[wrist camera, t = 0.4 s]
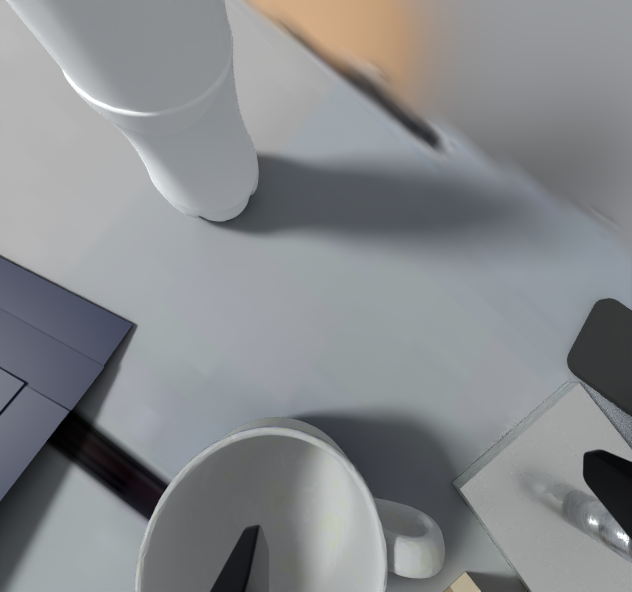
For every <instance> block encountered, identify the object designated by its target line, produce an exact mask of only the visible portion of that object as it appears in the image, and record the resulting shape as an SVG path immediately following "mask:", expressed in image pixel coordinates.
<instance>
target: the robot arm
mask: <svg viewBox="0 0 632 592" xmlns="http://www.w3.org/2000/svg"><path fill="white" fill-rule="evenodd" d="M583 478H584V480H585V482H586V484H587V485H588V487H589V488H590V489H591V491H592V492H593V493H594V494H595V495H596V497H597V498H598V499H599V500H600V502H601V503H602V504H603V505H604V507H605V508H606V509H607V510H608V512H609V513H610V514H611V515H612V517H613V518H614V519H615V520H616V522H617V523H618V524H619V525H620V526H621V528H622V529H623V530H624V531H625V533H626V534H627V535H628V536H629V538H630V539H631V540H632V462H631V461H629V460H626V459H624V458H622V457H619V456H617V455H615V454H612V453H610V452H607V451H605V450H601V449H596V450H592V451H587V452H585V453H584V455H583ZM210 592H269V548H268V544H267V541H266V538H265V535H264V532H263V529H262V527H261V526H260V525H258V524H257V525H253V526H248V527H246V528H245V529H244V530H243V532H242V534H241V536H240V538H239V539H238V541H237V543H236V545H235V547H234V549H233V550H232V552H231V554H230V556H229V558H228V559H227V561H226V563H225V565H224V567H223V569H222V570H221V572H220V574H219V576H218V578H217V579H216V581H215V583H214V585H213V587H212V589H211V590H210Z"/></svg>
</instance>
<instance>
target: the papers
mask: <svg viewBox="0 0 632 592" xmlns="http://www.w3.org/2000/svg"><path fill="white" fill-rule="evenodd" d="M132 325H133V324H131V323H129V322H127V321H125V320H123V319H121V318H119V317H117V316H115V315H113V314H111V313H109V312H107V311H105V310H103V309H101V308H99V307H97V306H95V305H93V304H91V303H89V302H87V301H85V300H84V299H82V298H80V297H78V296H76V295H74V294H72V293H70V292H68V291H66V290H64V289H62V288H60V287H58V286H56V285H54V284H52V283H50V282H48V281H46V280H44V279H42V278H40V277H38V276H36V275H34V274H32V273H30V272H28V271H26V270H24V269H22V268H20V267H18V266H16V265H14V264H12V263H10V262H8V261H6V260H4V259H2V258H0V501H1V499H2V498H3V497H4V496H5V494H6V493H7V492H8V490H9V489H10V488H11V486H12V485H13V484H14V483H15V481H16V480H17V479H18V477H19V476H20V475H21V473H22V472H23V471H24V470H25V468H26V467H27V466H28V464H29V463H30V462H31V460H32V459H33V458H34V457H35V455H36V454H37V453H38V451H39V450H40V449H41V447H42V446H43V445H44V444H45V442H46V441H47V440H48V438H49V437H50V436H51V434H52V433H53V432H54V431H55V429H56V428H57V427H58V425H59V424H60V423H61V421H62V420H64V419H65V418H66V416H67V415H68V414H69V413H70V411H71V410H72V409H73V407H74V406H75V405H76V403H77V402H78V401H79V399H80V398H81V397H82V396H83V394H84V393H85V392H86V390H87V389H88V388H89V386H90V385H91V384H92V383H93V381H94V380H95V379H96V377H97V376H98V375H99V373H100V372H101V371H102V370H103V368H104V366H103V365H104V364H105V363H106V361H107V360H108V358H109V357H110V356H111V354H112V353H113V351H114V350H115V349H116V347H117V346H118V344H119V343H120V342H121V340H122V339H123V337H124V336H125V335H126V333H127V332H128V330H129V329H130V328H131V326H132Z"/></svg>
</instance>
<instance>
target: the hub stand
mask: <svg viewBox="0 0 632 592" xmlns="http://www.w3.org/2000/svg"><path fill="white" fill-rule="evenodd" d="M596 449H601V450H605V451H607V452H610V453H612V454H615V455H617V456H619V457H622V458H624V459H626V460H629V461H631V462H632V449H631V448H630V447H629V445H628V444H627V443H626V441H625V440H624V439H623V438H622V436H621V435H620V434H619V433H618V431H617V430H616V429H615V427H614V426H613V425H612V424H611V422H610V421H609V420H608V419H607V417H606V416H605V415H604V414H603V412H602V411H601V410H600V408H599V407H598V406H597V405H596V403H595V402H594V401H593V400H592V398H591V397H590V396H589V394H588V393H587V392H586V391H585V389H584V388H583V387H582V386H581V384H580V383H576V382H566V383H565V384H564V385H563V386H562V387H560V388H559V389H558V390H557V391H556V392H555V393H554V394H552V395H551V396H550V397H549V398H548V399H547V400H546V401H544V402H543V403H542V404H541V405H540V406H539V407H538V408H536V409H535V410H534V411H533V412H532V413H531V414H530V415H528V416H527V417H526V418H525V419H524V420H523V421H522V422H521V423H519V424H518V425H517V426H516V427H515V428H514V429H513V430H511V431H510V432H509V433H508V434H507V435H506V436H505V437H503V438H502V439H501V440H500V441H499V442H498V443H497V444H495V445H494V446H493V447H492V448H491V449H490V450H489V451H488V452H486V453H485V454H484V455H483V456H482V457H481V458H480V459H478V460H477V461H476V462H475V463H474V464H473V465H472V466H470V467H469V468H468V469H467V470H466V471H465V472H464V473H462V474H461V475H460V476H459V477H458V478H457V479H456V480H454V481H453V482H452V483H453V485H454V486H455V487H456V489H457V490H458V492H459V493H460V495H461V496H462V497H463V499H464V500H465V502H466V503H467V505H468V506H469V507H470V509H471V510H472V512H473V513H474V515H475V516H476V518H477V519H478V520H479V522H480V523H481V525H482V526H483V528H484V529H485V530H486V532H487V533H488V535H489V536H490V538H491V539H492V540H493V542H494V543H495V545H496V546H497V548H498V549H499V550H500V552H501V553H502V555H503V556H504V558H505V559H506V560H507V562H508V563H509V565H510V566H511V568H512V569H513V570H514V572H515V573H516V575H517V576H518V578H519V579H520V580H521V582H522V583H523V585H524V586H525V588H526V589H527V590H528V592H632V540H631V539H630V538H629V536H628V535H627V534H626V533H625V531H624V530H623V529H622V528H621V526H620V525H619V524H618V523H617V522H616V520H615V519H614V518H613V517H612V515H611V514H610V513H609V512H608V510H607V509H606V508H605V507H604V505H603V504H602V503H601V502H600V500H599V499H598V498H597V497H596V495H595V494H594V493H593V492H592V491H591V489H590V488H589V487H588V485H587V484H586V482H585V480H584V478H583V455H584V453H585V452H587V451H592V450H596Z"/></svg>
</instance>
